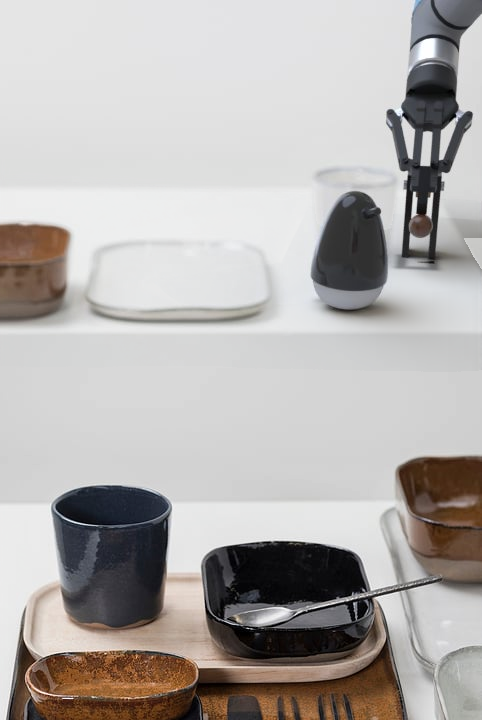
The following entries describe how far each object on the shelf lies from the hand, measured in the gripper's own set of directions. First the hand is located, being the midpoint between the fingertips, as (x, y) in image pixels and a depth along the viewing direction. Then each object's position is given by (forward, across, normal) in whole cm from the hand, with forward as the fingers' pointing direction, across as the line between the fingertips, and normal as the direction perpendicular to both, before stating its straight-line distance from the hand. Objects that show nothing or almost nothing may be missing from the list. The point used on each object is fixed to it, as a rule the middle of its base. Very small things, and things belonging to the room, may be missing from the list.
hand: (421, 208), depth 156 cm
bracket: (+1, 0, -13) cm, 13 cm away
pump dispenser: (+19, +9, +5) cm, 22 cm away
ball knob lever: (-2, 0, -5) cm, 5 cm away
